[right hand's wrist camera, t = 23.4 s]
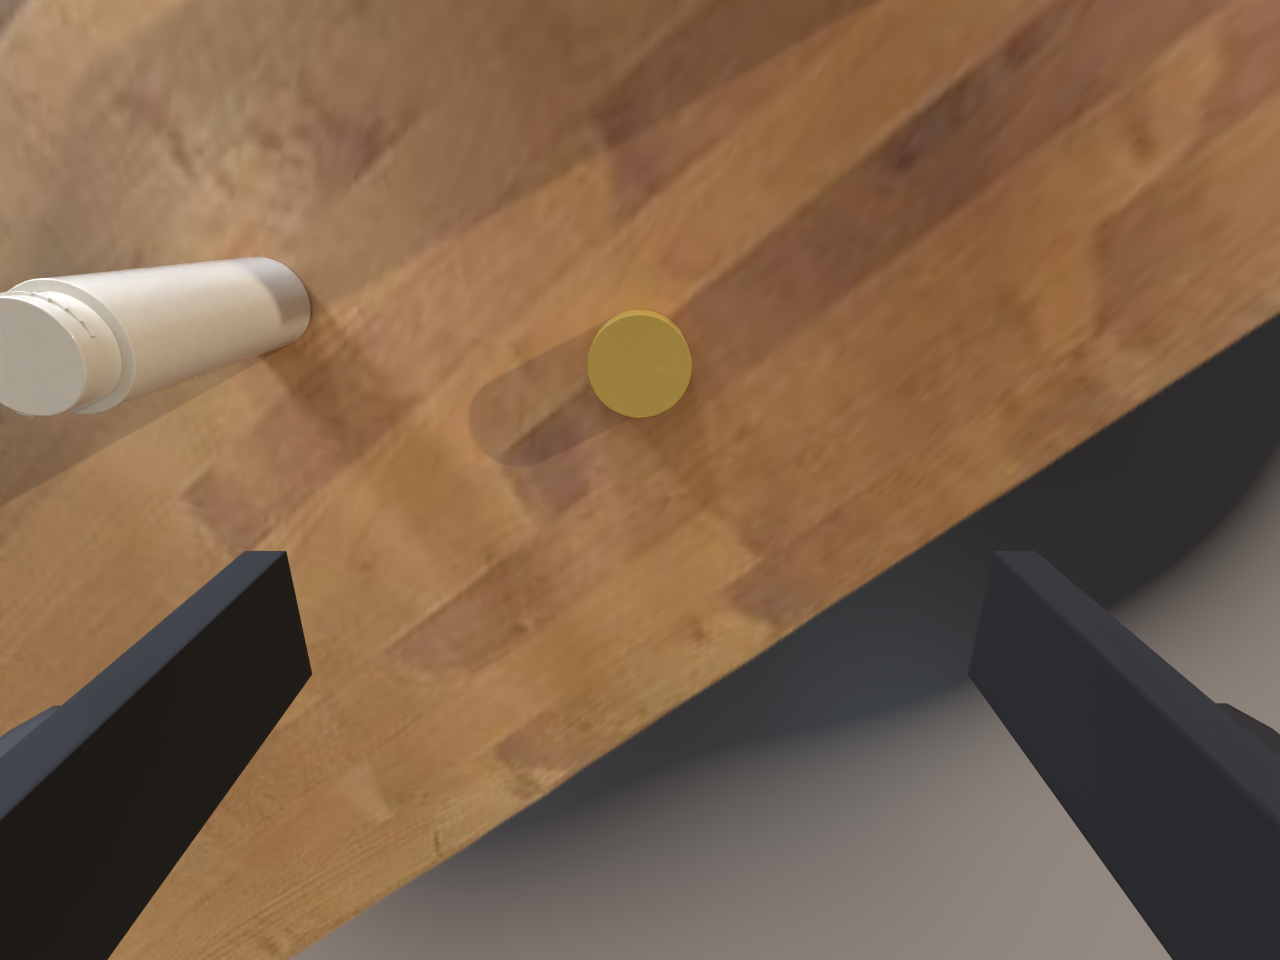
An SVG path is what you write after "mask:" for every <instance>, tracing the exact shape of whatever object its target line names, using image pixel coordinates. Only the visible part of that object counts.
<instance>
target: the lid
mask: <svg viewBox="0 0 1280 960" xmlns="http://www.w3.org/2000/svg"><path fill="white" fill-rule="evenodd" d="M587 366H588V376H589V380H590V383H591V386H592V388H593V390H594V392H595V394H596V395H597V397H598V398H599V399H600V400H601V401H602V402H603V403H604V404H605V405H606V406H607V407H608V408H610V409H611V410H613V411H615V412H616V413H619V414H621V415H624V416H628V417H634V418H646V417H652V416H655V415H658V414H661V413H663V412H665V411H666V410H668V409H670V408H671V407H672V406H674V405H675V404H676V403H677V402H678V401H679V399H680V398H681V397H682V396H683V394H684V392H685V391H686V389H687V387H688V384H689V381H690V378H691V371H692V361H691V355H690V351H689V348H688V345H687V343H686V340H685V338H684V336H683V334H682V332H681V331H680V330H679V328H678V327H677V326H676V325H675V324H674V323H673V322H672V321H670V320H669V319H668V318H666V317H664V316H663V315H661V314H658V313H656V312H652V311H648V310H632V311H627V312H623V313H621V314H619V315H616V316H615V317H613V318H611V319H610V320H609V321H608V322H606V323H605V324H604V325H603V326H602V328H601V329H600V330H599V332H598V333H597V335H596V337H595V338H594V341H593V344H592V346H591V349H590V352H589V356H588V364H587Z"/></svg>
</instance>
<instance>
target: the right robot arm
mask: <svg viewBox="0 0 1280 960" xmlns="http://www.w3.org/2000/svg"><path fill="white" fill-rule="evenodd" d="M311 675H312V671H311V666H310V662H309V657H308V652H307V647H306V643H305V638H304V633H303V628H302V624H301V619H300V614H299V609H298V605H297V600H296V595H295V590H294V586H293V581H292V576H291V571H290V567H289V562H288V557H287V553H286V551H244V552H243V553H242V554H241V555H240V556H239V557H237V558H236V559H235V560H234V561H233V562H231V563H230V564H229V565H228V566H227V567H225V568H224V569H223V570H222V571H221V572H220V573H218V574H217V575H216V576H215V577H214V578H212V579H211V580H210V581H209V582H208V583H207V584H205V585H204V586H203V587H202V588H201V589H199V590H198V591H197V592H196V593H195V594H194V595H192V596H191V597H190V598H189V599H188V600H186V601H185V602H184V603H183V604H182V605H180V606H179V607H178V608H177V609H176V610H175V611H173V612H172V613H171V614H170V615H169V616H167V617H166V618H165V619H164V620H163V621H162V622H160V623H159V624H158V625H157V626H156V627H154V628H153V629H152V630H151V631H150V632H148V633H147V634H146V635H145V636H144V637H143V638H141V639H140V640H139V641H138V642H137V643H135V644H134V645H133V646H132V647H131V648H130V649H128V650H127V651H126V652H125V653H124V654H122V655H121V656H120V657H119V658H118V659H117V660H115V661H114V662H113V663H112V664H111V665H109V666H108V667H107V668H106V669H105V670H103V671H102V672H101V673H100V674H99V675H98V676H96V677H95V678H94V679H93V680H92V681H90V682H89V683H88V684H87V685H86V686H85V687H83V688H82V689H81V690H80V691H79V692H77V693H76V694H75V695H74V696H73V697H71V698H70V699H69V700H68V701H67V702H66V703H64V704H63V705H62V706H53V707H51V708H49V709H47V710H46V711H44V712H42V713H40V714H38V715H37V716H35V717H33V718H31V719H29V720H28V721H26V722H24V723H22V724H20V725H19V726H17V727H15V728H13V729H11V730H10V731H8V732H7V733H6V734H4V735H3V736H2V737H1V738H0V960H107V959H108V958H109V957H110V955H111V954H112V952H113V951H114V950H115V948H116V947H117V946H118V944H119V943H120V941H121V940H122V939H123V937H124V936H125V934H126V933H127V932H128V930H129V929H130V927H131V926H132V925H133V923H134V922H135V920H136V919H137V918H138V916H139V915H140V913H141V912H142V911H143V909H144V908H145V907H146V905H147V904H148V902H149V901H150V900H151V898H152V897H153V895H154V894H155V893H156V891H157V890H158V888H159V887H160V886H161V884H162V883H163V881H164V880H165V879H166V877H167V876H168V874H169V873H170V872H171V870H172V869H173V868H174V866H175V865H176V863H177V862H178V861H179V859H180V858H181V856H182V855H183V854H184V852H185V851H186V849H187V848H188V847H189V845H190V844H191V842H192V841H193V840H194V838H195V837H196V835H197V834H198V833H199V831H200V830H201V828H202V827H203V826H204V824H205V823H206V822H207V820H208V819H209V817H210V816H211V815H212V813H213V812H214V810H215V809H216V808H217V806H218V805H219V803H220V802H221V801H222V799H223V798H224V796H225V795H226V794H227V792H228V791H229V789H230V788H231V787H232V785H233V784H234V783H235V781H236V780H237V778H238V777H239V776H240V774H241V773H242V771H243V770H244V769H245V767H246V766H247V764H248V763H249V762H250V760H251V759H252V757H253V756H254V755H255V753H256V752H257V750H258V749H259V748H260V746H261V745H262V744H263V742H264V741H265V739H266V738H267V737H268V735H269V734H270V732H271V731H272V730H273V728H274V727H275V725H276V724H277V723H278V721H279V720H280V718H281V717H282V716H283V714H284V713H285V711H286V710H287V709H288V707H289V706H290V704H291V703H292V702H293V700H294V699H295V698H296V696H297V695H298V693H299V692H300V691H301V689H302V688H303V686H304V685H305V684H306V682H307V681H308V679H309V678H310V677H311ZM968 675H969V677H970V678H971V679H972V681H973V682H974V684H975V685H976V686H977V688H978V689H979V690H980V692H981V693H982V695H983V696H984V698H985V699H986V700H987V702H988V703H989V704H990V706H991V707H992V709H993V710H994V711H995V713H996V714H997V716H998V717H999V718H1000V720H1001V721H1002V723H1003V724H1004V725H1005V727H1006V728H1007V730H1008V731H1009V732H1010V734H1011V735H1012V737H1013V738H1014V739H1015V741H1016V742H1017V743H1018V745H1019V746H1020V748H1021V749H1022V750H1023V752H1024V753H1025V755H1026V756H1027V757H1028V759H1029V760H1030V762H1031V763H1032V764H1033V766H1034V767H1035V769H1036V770H1037V771H1038V773H1039V774H1040V776H1041V777H1042V778H1043V780H1044V781H1045V783H1046V784H1047V785H1048V787H1049V788H1050V789H1051V791H1052V792H1053V794H1054V795H1055V796H1056V798H1057V799H1058V801H1059V802H1060V803H1061V805H1062V806H1063V808H1064V809H1065V810H1066V812H1067V813H1068V815H1069V816H1070V817H1071V819H1072V820H1073V822H1074V823H1075V824H1076V826H1077V827H1078V828H1079V830H1080V831H1081V833H1082V834H1083V835H1084V837H1085V838H1086V840H1087V841H1088V842H1089V844H1090V845H1091V847H1092V848H1093V849H1094V851H1095V852H1096V854H1097V855H1098V856H1099V858H1100V859H1101V861H1102V862H1103V863H1104V865H1105V866H1106V867H1107V869H1108V870H1109V872H1110V873H1111V874H1112V876H1113V877H1114V879H1115V880H1116V881H1117V883H1118V884H1119V885H1120V887H1121V888H1122V890H1123V891H1124V893H1125V894H1126V895H1127V897H1128V898H1129V899H1130V901H1131V902H1132V904H1133V905H1134V907H1135V908H1136V909H1137V911H1138V912H1139V913H1140V915H1141V916H1142V918H1143V919H1144V920H1145V922H1146V923H1147V925H1148V926H1149V927H1150V929H1151V930H1152V932H1153V933H1154V934H1155V936H1156V937H1157V939H1158V940H1159V941H1160V943H1161V944H1162V946H1163V947H1164V948H1165V950H1166V951H1167V952H1168V954H1169V955H1170V957H1171V958H1172V959H1173V960H1280V734H1278V733H1277V732H1276V731H1275V730H1273V729H1272V728H1270V727H1268V726H1267V725H1265V724H1263V723H1261V722H1259V721H1258V720H1256V719H1254V718H1252V717H1250V716H1249V715H1247V714H1245V713H1243V712H1241V711H1240V710H1238V709H1236V708H1234V707H1232V706H1231V705H1229V704H1227V703H1214V702H1213V701H1212V700H1211V699H1210V698H1208V697H1207V696H1206V695H1205V694H1204V693H1203V692H1201V691H1200V690H1199V689H1198V688H1197V687H1195V686H1194V685H1193V684H1192V683H1191V682H1190V681H1188V680H1187V679H1186V678H1185V677H1184V676H1182V675H1181V674H1180V673H1179V672H1178V671H1176V670H1175V669H1174V668H1173V667H1172V666H1171V665H1169V664H1168V663H1167V662H1166V661H1165V660H1163V659H1162V658H1161V657H1160V656H1159V655H1158V654H1156V653H1155V652H1154V651H1153V650H1152V649H1150V648H1149V647H1148V646H1147V645H1146V644H1145V643H1143V642H1142V641H1141V640H1140V639H1139V638H1137V637H1136V636H1135V635H1134V634H1133V633H1132V632H1130V631H1129V630H1128V629H1127V628H1126V627H1124V626H1123V625H1122V624H1121V623H1120V622H1118V621H1117V620H1116V619H1115V618H1114V617H1113V616H1111V615H1110V614H1109V613H1108V612H1107V611H1105V610H1104V609H1103V608H1102V607H1101V606H1100V605H1098V604H1097V603H1096V602H1095V601H1094V600H1092V599H1091V598H1090V597H1089V596H1088V595H1086V594H1085V593H1084V592H1083V591H1082V590H1081V589H1079V588H1078V587H1077V586H1076V585H1075V584H1073V583H1072V582H1071V581H1070V580H1069V579H1067V578H1066V577H1065V576H1064V575H1063V574H1062V573H1060V572H1059V571H1058V570H1057V569H1056V568H1054V567H1053V566H1052V565H1051V564H1050V563H1049V562H1047V561H1046V560H1045V559H1044V558H1043V557H1041V556H1040V555H1039V554H1038V553H1037V552H1036V551H994V553H993V557H992V562H991V567H990V571H989V576H988V581H987V586H986V590H985V595H984V600H983V605H982V609H981V615H980V619H979V624H978V629H977V633H976V638H975V643H974V647H973V652H972V657H971V662H970V667H969V671H968Z"/></svg>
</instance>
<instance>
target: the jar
mask: <svg viewBox="0 0 1280 960" xmlns="http://www.w3.org/2000/svg"><path fill="white" fill-rule="evenodd" d="M310 314H311V308H310V301H309V297H308V294H307V292H306V289H305V287H304V286H303V284H302V282H301V281H300V279H299V278H298V277H297V276H296V275H295V274H294V273H293V272H292V271H291V270H290V269H289V268H287V267H286V266H285V265H283V264H281V263H280V262H277V261H275V260H273V259H269V258H265V257H246V258H236V259H226V260H217V261H207V262H197V263H187V264H177V265H167V266H157V267H148V268H138V269H128V270H118V271H108V272H98V273H89V274H79V275H69V276H59V277H49V278H40V279H32V280H28V281H25V282H22V283H20V284H18V285H16V286H15V287H13V288H12V289H10V290H9V291H8V292H3V293H0V404H2V405H4V406H6V407H8V408H10V409H12V410H14V411H15V413H18V414H21V415H25V416H28V417H32V418H34V417H36V416H54V415H58V414H62V413H65V412H69V413H75V414H97V413H101V412H105V411H108V410H110V409H113V408H116V407H119V406H121V405H124V404H127V403H130V402H132V401H135V400H138V399H141V398H143V397H146V396H149V395H152V394H154V393H157V392H160V391H163V390H165V389H168V388H171V387H174V386H177V385H179V384H182V383H185V382H188V381H190V380H193V379H196V378H199V377H201V376H204V375H207V374H210V373H212V372H215V371H218V370H221V369H223V368H226V367H229V366H232V365H234V364H237V363H240V362H243V361H245V360H248V359H251V358H254V357H257V356H259V355H262V354H265V353H268V352H270V351H273V350H276V349H279V348H281V347H284V346H287V345H289V344H292V343H293V342H295V341H297V340H298V339H299V338H300V337H301V336H302V335H303V334H304V332H305V330H306V329H307V326H308V324H309V320H310Z"/></svg>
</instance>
